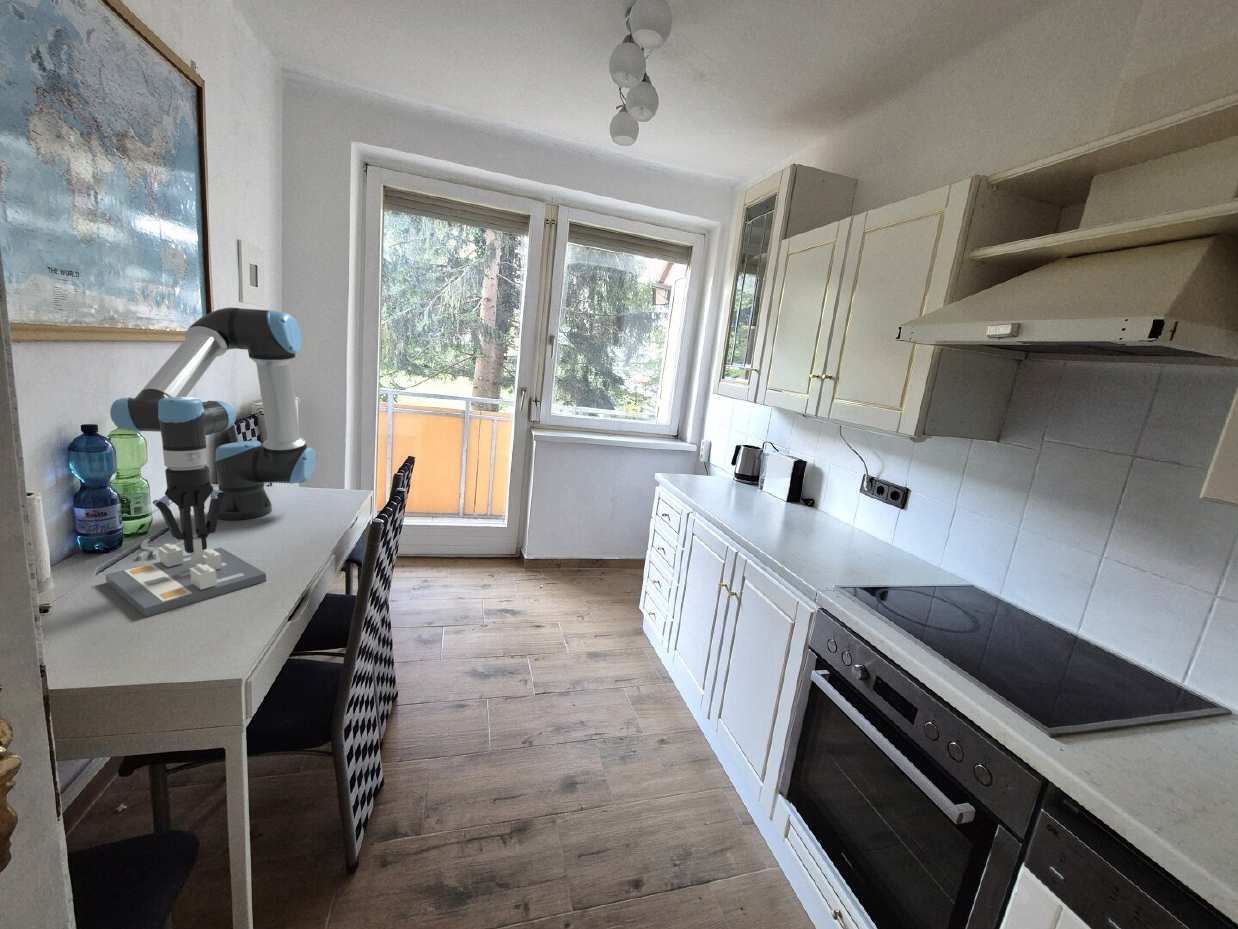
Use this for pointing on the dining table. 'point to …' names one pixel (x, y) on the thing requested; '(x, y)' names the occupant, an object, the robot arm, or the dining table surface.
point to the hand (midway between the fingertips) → (197, 563)
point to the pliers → (152, 549)
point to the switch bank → (179, 583)
